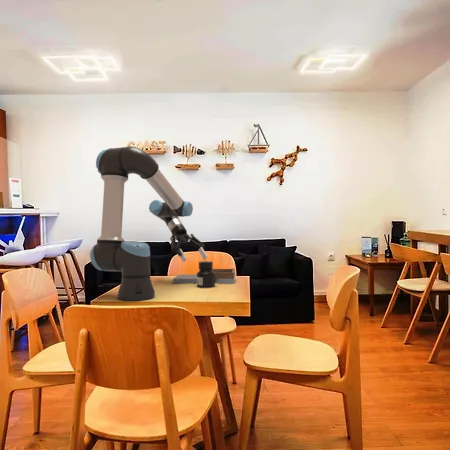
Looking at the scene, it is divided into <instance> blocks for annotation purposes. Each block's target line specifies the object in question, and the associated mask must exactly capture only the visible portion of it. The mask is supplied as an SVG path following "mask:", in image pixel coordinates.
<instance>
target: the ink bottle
mask: <svg viewBox="0 0 450 450" xmlns="http://www.w3.org/2000/svg"><path fill="white" fill-rule="evenodd" d="M213 265H214V264H213V260H211V261H210V260H201V261H198V272H196V274H197V284H196V286H197V287H198V288H213V287H215V286H216V284H215V273H214V272H213V270H212V269H214V267H213Z"/></svg>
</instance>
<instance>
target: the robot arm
mask: <svg viewBox="0 0 450 450" xmlns="http://www.w3.org/2000/svg"><path fill="white" fill-rule="evenodd" d="M95 167H96V169H97V172H98V173H99V174H100V178H101V179H102V181H103V183H104V184H103V199H102V214H101V231H100V236H99V237H98V238H97V239H96V244H95V245H93V247H92V248H91V249H90V253H89V259H90V262H91V265H92V266H93V267H94V268H95V269H96V270H98V271H103V272H119V273H121V281H120V284H119V288H118V292H117V299H118V300H120V301H127V302H130V301H131V302H133V301H134V302H136V301H138V302H139V301H144V300H151V299H153V298H155V297H156V295H155V294H156V293H155V289H154V286H153V282H152V280H151V250H150V249H151V248H150V246H149V244H148V243H147V242H143V241H134V240H125V239H124V238H123V236H122V234H123V233H122V231H123V218H124V217H123V214H124V197H125V196H124V195H125V183H126V182H128V180H129V175H132V174H135V175H138V176H139V177H140V179H142V180H145V181H146V182H147V183H148V184H149V185H150V186H151V187H152V189H153V191H155V193H157V195H158V196H159V197H160V198H161V199H162V201H163V202H162V201H161V200H158V199H154V200H152V201H151V202H150V203H149V206H148V209H149V210H148V211H149V212H150V213H151V214H152V215H154V216H155V217H157V218H159V219H160V220H161V221H164V223H165V224H166V226H167V228H168V230H169V232H170V234H171V236H170V238H169V239H170V242H171V244H170V245H171V246H170V247H171V252H174V254H177V255H178V257H179V258H180V259H181V262H183V263H185V262H186V260H187V257H186V255H185V253H184V251H183V250H182V248H180V247H181V244H188V245H191V246H192V247H194V248H195V249H197V251H198V252H199V255H201V257H202V259H203V261H206V259H207V258H208V254H207V252H206V251H205V249H204V248H205V246H206V245H205V244H204V243H203V242H202V241H201V240H199V239H198V238H197V237H196V236H195V235H194V234H193V233H190V234H188V233H187V232H188V231H187V228H186V227H185V226H184V224H183V223H182V221H181V219H180V218H182V217H190V216H192V214H193V210H194V208H193V204H192V203H191V202H190V201H186V200H185V201H184V200H183V198H182V197H181V195H179V193H178V192H177V191H176V189H175V188H174V187H173V186H172V184H171V182H169V180H168V179H167V177H166V176H165V175H164V174H163V172H162V171H161V170H160V167H159V164H158V163H157V161H156V160H155V159H154V158H153V157H152V156H151V155H150V154H149V153H147V152H146V151H144V150H143V149H141V148H140V147H137V146H129V145H128V146H123V147H111V148H107V149H103V150H101V151H100V152H99V153H98V155H97V156H96V159H95ZM176 240H177V244H176Z"/></svg>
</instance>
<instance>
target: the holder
mask: <svg viewBox="0 0 450 450" xmlns="http://www.w3.org/2000/svg"><path fill="white" fill-rule="evenodd" d="M212 270H213V272H214V273H215V279H234V276H235V277H236V269H235V268H213V269H212Z"/></svg>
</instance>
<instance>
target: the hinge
mask: <svg viewBox="0 0 450 450" xmlns="http://www.w3.org/2000/svg"><path fill="white" fill-rule="evenodd" d="M235 280H236V275H235V276H234V279H215V283H218V285H221V284H222V285H223V284H224V285H226V284H227V285H228V284H232V285H233V284H235ZM182 283H183V284H182ZM184 283H185V284H184ZM186 283H197V273H195V274H178V275H176V276H175V277H174V278H172V284H175V285H177V284H178V285H179V284H180V285H187V284H186Z"/></svg>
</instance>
